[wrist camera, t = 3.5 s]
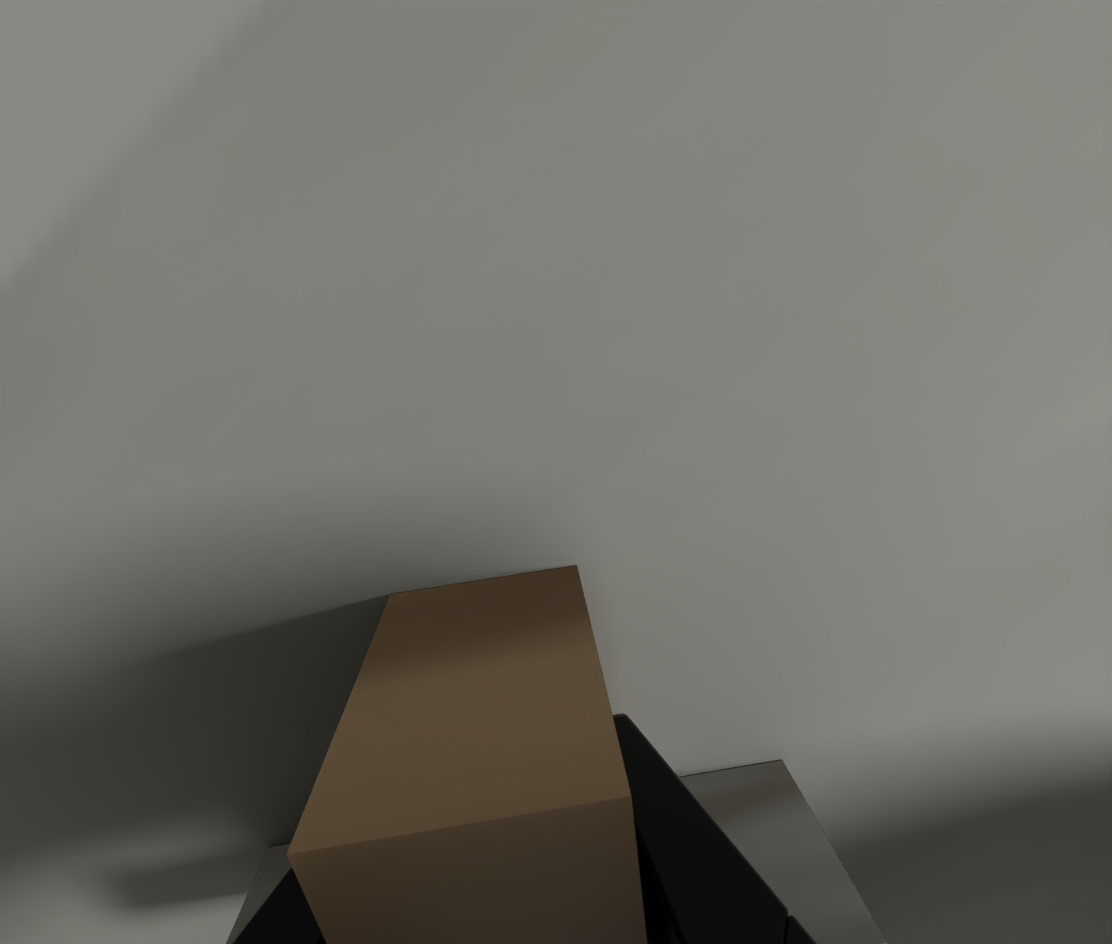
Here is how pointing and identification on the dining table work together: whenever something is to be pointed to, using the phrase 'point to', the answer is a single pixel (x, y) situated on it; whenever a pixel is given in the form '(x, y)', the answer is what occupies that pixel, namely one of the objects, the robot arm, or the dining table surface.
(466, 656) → the tan block on bar
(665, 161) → the dining table surface
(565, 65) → the dining table surface
